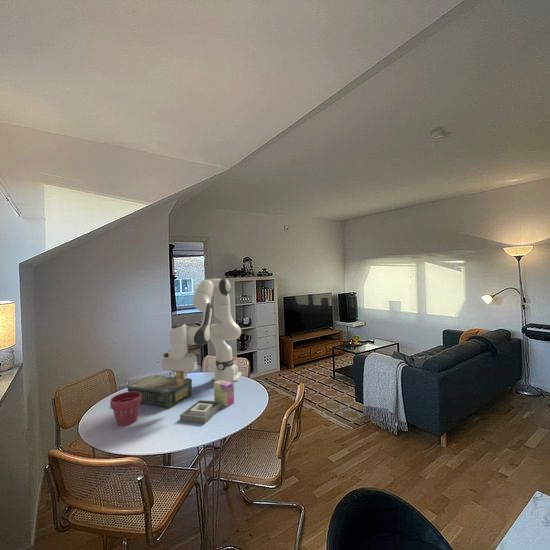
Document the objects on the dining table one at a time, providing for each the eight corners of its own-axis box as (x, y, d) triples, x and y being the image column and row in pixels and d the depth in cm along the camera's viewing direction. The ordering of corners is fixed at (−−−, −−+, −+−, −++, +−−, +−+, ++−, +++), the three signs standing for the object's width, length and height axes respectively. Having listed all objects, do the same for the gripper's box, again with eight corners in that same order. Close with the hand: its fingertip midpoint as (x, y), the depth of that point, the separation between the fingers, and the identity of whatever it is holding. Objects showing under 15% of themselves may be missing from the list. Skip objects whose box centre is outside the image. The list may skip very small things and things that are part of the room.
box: (234, 403, 163) (233, 382, 163) (227, 407, 158) (226, 385, 158) (221, 399, 169) (220, 379, 169) (214, 403, 164) (213, 382, 164)
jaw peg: (179, 383, 160) (178, 368, 160) (185, 383, 159) (185, 369, 159) (175, 385, 156) (174, 371, 156) (181, 386, 155) (180, 371, 155)
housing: (199, 405, 162) (199, 398, 162) (221, 407, 158) (221, 400, 158) (180, 420, 145) (180, 413, 145) (205, 423, 141) (204, 416, 141)
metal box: (169, 409, 159) (168, 391, 159) (126, 402, 171) (125, 385, 171) (193, 394, 179) (193, 378, 179) (153, 389, 191) (153, 373, 191)
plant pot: (104, 428, 141) (103, 402, 141) (123, 414, 155) (122, 390, 155) (131, 429, 139) (130, 402, 139) (148, 415, 153) (147, 391, 153)
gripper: (199, 352, 158) (200, 377, 158) (167, 351, 163) (168, 375, 163) (192, 355, 152) (193, 381, 152) (159, 354, 157) (160, 379, 157)
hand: (180, 378), depth 158 cm, fingers closed on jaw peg, 4 cm apart
